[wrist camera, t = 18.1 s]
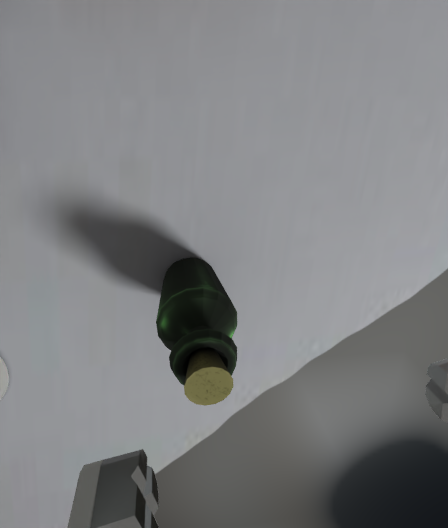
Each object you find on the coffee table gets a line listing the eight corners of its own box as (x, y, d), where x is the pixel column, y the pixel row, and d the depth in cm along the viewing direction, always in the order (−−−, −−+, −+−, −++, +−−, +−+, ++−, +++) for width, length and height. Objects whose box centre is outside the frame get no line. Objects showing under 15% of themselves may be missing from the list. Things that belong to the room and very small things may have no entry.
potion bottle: (142, 277, 40) (131, 387, 24) (195, 237, 39) (220, 323, 23) (184, 319, 44) (199, 440, 28) (234, 283, 43) (279, 386, 27)
